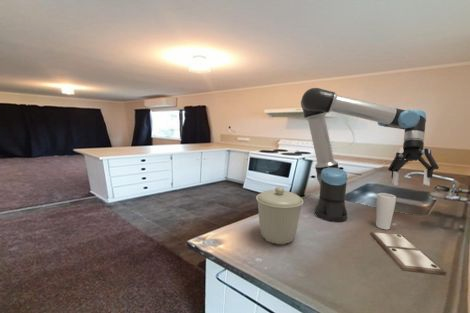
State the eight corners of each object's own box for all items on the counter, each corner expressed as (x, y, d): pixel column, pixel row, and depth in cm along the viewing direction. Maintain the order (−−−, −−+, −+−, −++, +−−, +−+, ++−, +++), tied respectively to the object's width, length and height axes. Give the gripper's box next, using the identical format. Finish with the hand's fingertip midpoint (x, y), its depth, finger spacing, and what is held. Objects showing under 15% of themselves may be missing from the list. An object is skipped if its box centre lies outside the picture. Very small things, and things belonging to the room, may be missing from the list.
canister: (245, 237, 87) (247, 186, 84) (271, 223, 100) (272, 178, 97) (286, 256, 75) (289, 198, 72) (308, 237, 88) (312, 187, 85)
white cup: (370, 224, 101) (373, 192, 98) (384, 223, 101) (387, 192, 99) (381, 231, 94) (385, 197, 92) (395, 230, 94) (400, 197, 92)
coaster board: (402, 270, 69) (403, 265, 68) (370, 234, 91) (370, 230, 91) (445, 275, 67) (446, 270, 66) (401, 237, 89) (402, 233, 89)
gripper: (451, 139, 93) (448, 187, 89) (393, 148, 116) (389, 186, 112) (439, 133, 91) (436, 182, 87) (382, 143, 114) (378, 182, 110)
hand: (409, 185), depth 99 cm, fingers open, 13 cm apart
